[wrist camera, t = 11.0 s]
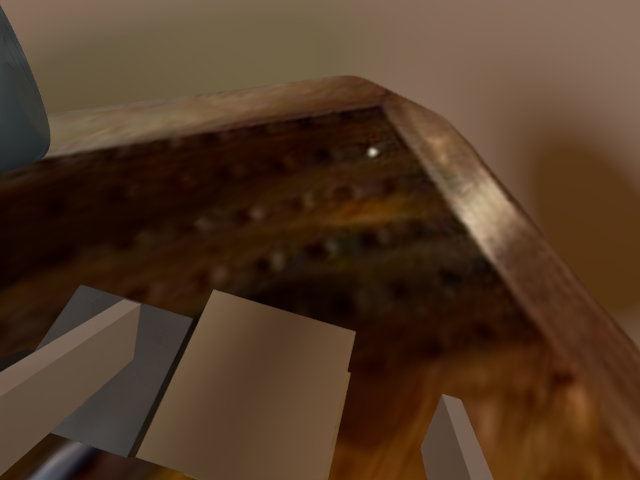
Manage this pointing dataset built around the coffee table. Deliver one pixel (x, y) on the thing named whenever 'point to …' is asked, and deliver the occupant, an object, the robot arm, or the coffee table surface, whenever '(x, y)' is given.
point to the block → (252, 395)
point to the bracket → (132, 377)
